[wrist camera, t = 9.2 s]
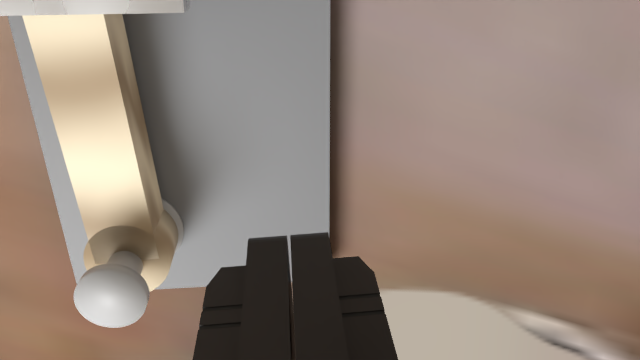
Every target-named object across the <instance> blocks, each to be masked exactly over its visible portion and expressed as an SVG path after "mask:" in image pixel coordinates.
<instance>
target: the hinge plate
mask: <svg viewBox="0 0 640 360" xmlns="http://www.w3.org/2000/svg"><path fill="white" fill-rule="evenodd" d="M122 15H123V20H124V25H125V29H126V34H127V39H128V44H129V48H130V53H131V58H132V62H133V67H134V72H135V77H136V81H137V86H138V91H139V95H140V100H141V105H142V110H143V114H144V119H145V124H146V128H147V133H148V138H149V143H150V147H151V152H152V157H153V161H154V166H155V171H156V176H157V180H158V185H159V190H160V194H161V199H162V204H163V209H164V210H165V211H167V212H168V213H169V214H170V216H171V217H172V218H173V220H174V221H175V223H176V225H177V229H178V243H177V246H176V250H175V253H174V256H173V260H172V263H171V266H170V270H169V273H168V275H167V277H166V279H165V280H164V281H163V283H162V284H161V285H160V286H158V287H157V288H155V289H170V288H189V287H206V286H207V285H208V284H209V282H210V281H211V280H212V279H213V277H214V276H215V275H216V274H217V272H218V271H219V270H220V268H221V267H232V266H245V265H246V258H247V246H248V239H249V238H259V237H272V236H286V235H287V240H288V251H289V263H290V275H291V282H292V265H291V242H290V235H297V234H310V233H323V232H328V234H329V203H330V0H190V8H189V9H188V10H187V11H186V12H185V13H144V14H122ZM8 20H9V24H10V28H11V31H12V35H13V39H14V43H15V47H16V51H17V55H18V59H19V62H20V66H21V70H22V74H23V78H24V82H25V86H26V89H27V93H28V97H29V101H30V105H31V109H32V113H33V117H34V120H35V124H36V128H37V132H38V136H39V140H40V144H41V148H42V151H43V155H44V159H45V163H46V167H47V171H48V175H49V178H50V182H51V186H52V190H53V194H54V198H55V202H56V206H57V209H58V213H59V217H60V221H61V225H62V229H63V233H64V236H65V240H66V244H67V248H68V252H69V256H70V260H71V264H72V267H73V271H74V275H75V279H76V283H77V286H76V288H75V291H74V303H75V306H76V308H77V310H78V311H79V312H80V313H81V315H82V316H83V317H85V318H86V319H87V320H89V321H90V322H92V323H94V324H97V325H100V326H104V327H111V328H117V327H124V326H127V325H130V324H132V323H134V322H136V321H137V320H138V319H140V317H141V316H142V315H143V313H144V312H145V309H146V306H147V303H148V300H149V288H148V285H147V283H146V281H145V279H144V278H143V277H142V276H141V273H142V270H143V262H142V260H141V259H140V257H139V256H137V255H136V254H134V253H132V252H129V251H119V252H116V253H114V254H113V255H111V257H110V258H109V260H108V262H107V264H101V265H97V266H94V267H92V268H90V269H89V270H86V267H85V264H84V258H83V255H84V249H85V246H86V244H87V242H88V238H87V234H86V231H85V227H84V224H83V221H82V217H81V214H80V210H79V207H78V204H77V200H76V197H75V193H74V190H73V187H72V183H71V180H70V176H69V173H68V170H67V166H66V163H65V159H64V156H63V153H62V149H61V146H60V142H59V139H58V136H57V132H56V129H55V125H54V122H53V119H52V115H51V112H50V108H49V105H48V102H47V98H46V95H45V91H44V88H43V85H42V81H41V78H40V74H39V71H38V68H37V64H36V61H35V58H34V54H33V51H32V47H31V44H30V41H29V37H28V34H27V30H26V27H25V24H24V20H23V17H22V16H8Z"/></svg>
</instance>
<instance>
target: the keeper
mask: <svg viewBox="0 0 640 360" xmlns="http://www.w3.org/2000/svg"><path fill="white" fill-rule="evenodd" d="M189 8H190V0H0V16H26V15H85V14H144V13H185V12H186V11H187V10H188V9H189Z"/></svg>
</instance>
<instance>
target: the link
mask: <svg viewBox="0 0 640 360" xmlns="http://www.w3.org/2000/svg"><path fill="white" fill-rule="evenodd" d="M22 17H23V20H24V24H25V27H26V30H27V34H28V37H29V41H30V44H31V47H32V51H33V54H34V58H35V61H36V64H37V68H38V71H39V74H40V78H41V81H42V85H43V88H44V91H45V95H46V98H47V102H48V105H49V108H50V112H51V115H52V119H53V122H54V125H55V129H56V132H57V136H58V139H59V142H60V146H61V149H62V153H63V156H64V159H65V163H66V166H67V170H68V173H69V176H70V180H71V183H72V187H73V190H74V193H75V197H76V200H77V204H78V207H79V210H80V214H81V217H82V221H83V224H84V227H85V231H86V234H87V238H88V242H87V244H86V246H85V249H84V255H83V258H84V264H85V267H86V270H89V269H90V268H92V267H94V266H97V265H101V264H107V262H108V260H109V258H110V257H111V255H113V254H114V253H116V252H119V251H129V252H132V253H134V254H136V255H137V256H139V257H140V259H141V260H142V262H143V270H142V273H141V276H142V277H143V278H144V279H145V281H146V283H147V285H148V288H149V291H152V290H154V289H155V288H157V287H158V286H160V285H161V284H162V283H163V281H164V280H165V279H166V277H167V275H168V273H169V270H170V266H171V263H172V260H173V256H174V253H175V250H176V246H177V243H178V229H177V225H176V223H175V221H174V220H173V218H172V217H171V216H170V214H169V213H168V212H167V211H165V210H164V209H163V204H162V199H161V194H160V190H159V185H158V180H157V176H156V171H155V166H154V161H153V157H152V152H151V147H150V143H149V138H148V133H147V128H146V124H145V119H144V114H143V110H142V105H141V100H140V95H139V91H138V86H137V81H136V77H135V72H134V67H133V62H132V58H131V53H130V48H129V44H128V39H127V34H126V29H125V25H124V20H123V15H122V14H85V15H26V16H22Z"/></svg>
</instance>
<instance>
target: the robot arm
mask: <svg viewBox="0 0 640 360" xmlns="http://www.w3.org/2000/svg"><path fill="white" fill-rule="evenodd" d="M290 242H291V265H292V287H293V299H292V287H291V275H290V263H289V251H288V240H287V235H286V236H272V237H259V238H249V239H248V246H247V258H246V265H245V266H232V267H221V268H220V270H219V271H218V272H217V274H216V275H215V276H214V277H213V279H212V280H211V281H210V282H209V284H208V285H207V286H206V292H205V297H204V302H203V312H202V313H201V318H200V324H199V330H198V334H197V340H196V345H195V350H194V356H193V360H398V358H397V354H396V351H395V347H394V344H393V340H392V336H391V332H390V329H389V325H388V321H387V318H386V315H385V312H384V307H383V303H382V299H381V297H380V292H379V288H378V285H377V281H376V277H375V274H374V272H373V271H372V270H371V269H370V268H369V267H368V266H367V265H366V264H365V263H364V262H363V261H362V260H361V259H360V258H359V257H358V256H357V257H344V258H333V257H332V251H331V245H330V239H329V234H328V232H323V233H310V234H297V235H290ZM293 310H294V312H293Z"/></svg>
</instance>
